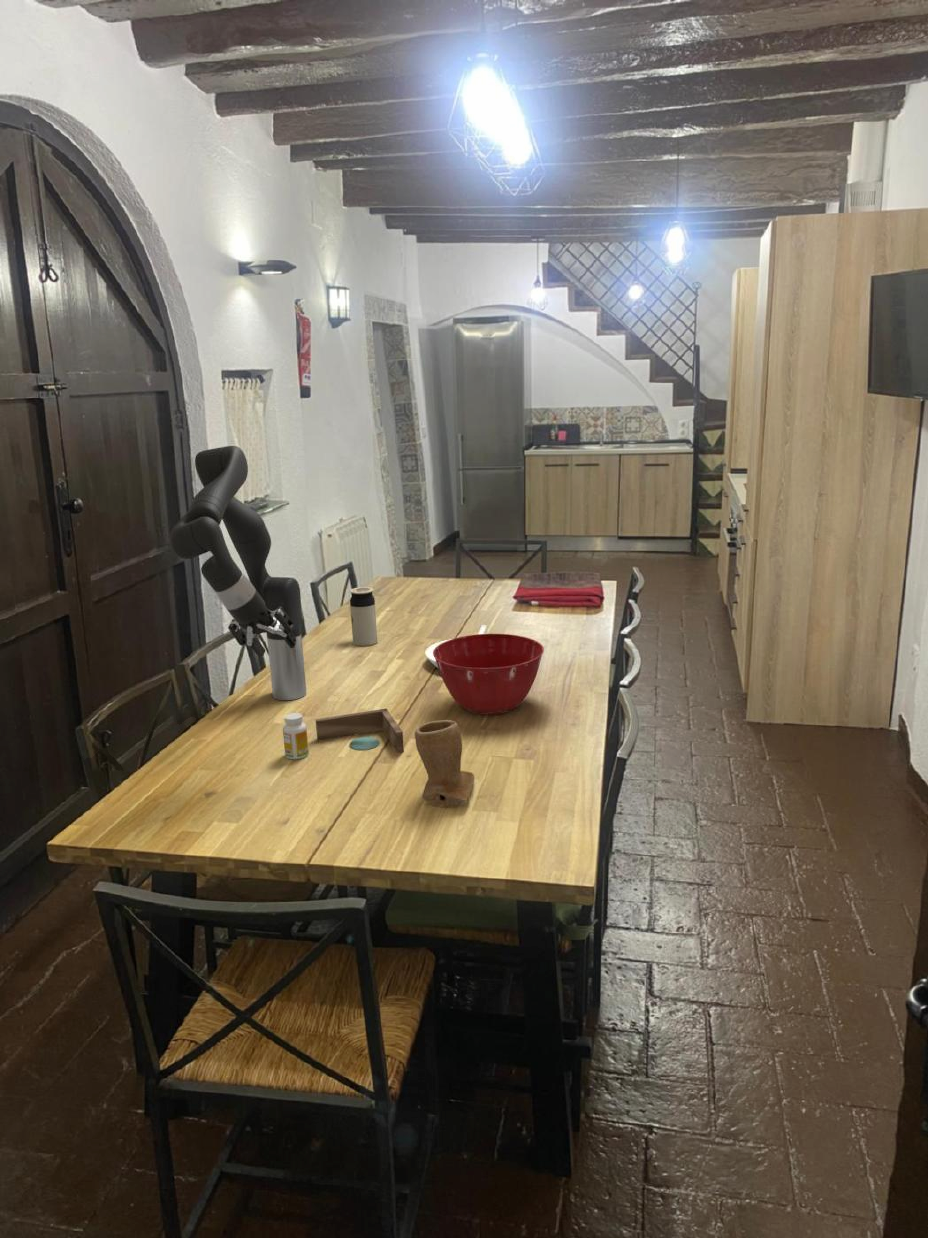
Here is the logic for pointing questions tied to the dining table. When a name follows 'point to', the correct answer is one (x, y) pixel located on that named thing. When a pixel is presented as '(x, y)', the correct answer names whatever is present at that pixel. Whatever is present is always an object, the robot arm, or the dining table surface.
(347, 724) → the corner arena
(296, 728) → the supplement bottle
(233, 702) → the dining table surface
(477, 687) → the mixing bowl
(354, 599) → the travel mug
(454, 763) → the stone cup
